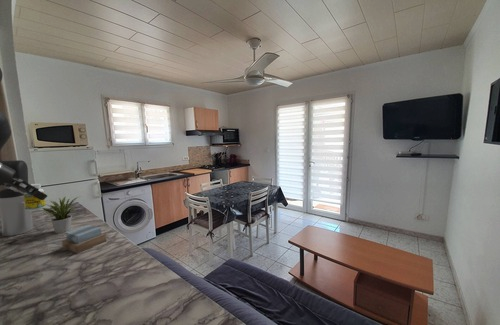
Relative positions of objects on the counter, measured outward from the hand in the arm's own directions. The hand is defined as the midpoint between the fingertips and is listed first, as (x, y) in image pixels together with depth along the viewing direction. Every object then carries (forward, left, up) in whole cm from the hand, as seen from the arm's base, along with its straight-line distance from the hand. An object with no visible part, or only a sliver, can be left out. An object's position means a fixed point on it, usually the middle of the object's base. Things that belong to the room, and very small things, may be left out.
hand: (41, 197), depth 78 cm
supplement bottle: (0, -2, -4) cm, 5 cm away
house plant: (-11, +11, -20) cm, 26 cm away
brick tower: (+14, +6, -20) cm, 25 cm away
